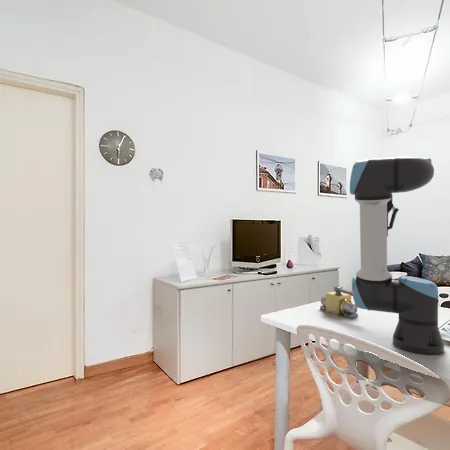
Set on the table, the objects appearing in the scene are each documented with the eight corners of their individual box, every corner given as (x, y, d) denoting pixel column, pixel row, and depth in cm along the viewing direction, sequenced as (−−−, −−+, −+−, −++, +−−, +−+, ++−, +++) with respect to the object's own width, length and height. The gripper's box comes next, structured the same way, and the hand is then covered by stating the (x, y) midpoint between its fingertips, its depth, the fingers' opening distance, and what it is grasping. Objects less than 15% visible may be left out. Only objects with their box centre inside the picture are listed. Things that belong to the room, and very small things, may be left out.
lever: (332, 290, 155) (332, 286, 155) (339, 289, 157) (339, 286, 157) (359, 298, 138) (360, 294, 138) (367, 298, 140) (367, 294, 140)
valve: (347, 318, 144) (347, 296, 144) (317, 309, 160) (318, 288, 160) (360, 316, 148) (360, 294, 148) (329, 307, 164) (330, 287, 164)
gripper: (400, 193, 152) (399, 244, 153) (370, 194, 160) (369, 243, 160) (397, 192, 146) (397, 245, 147) (366, 193, 154) (366, 243, 154)
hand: (383, 244), depth 153 cm, fingers closed
